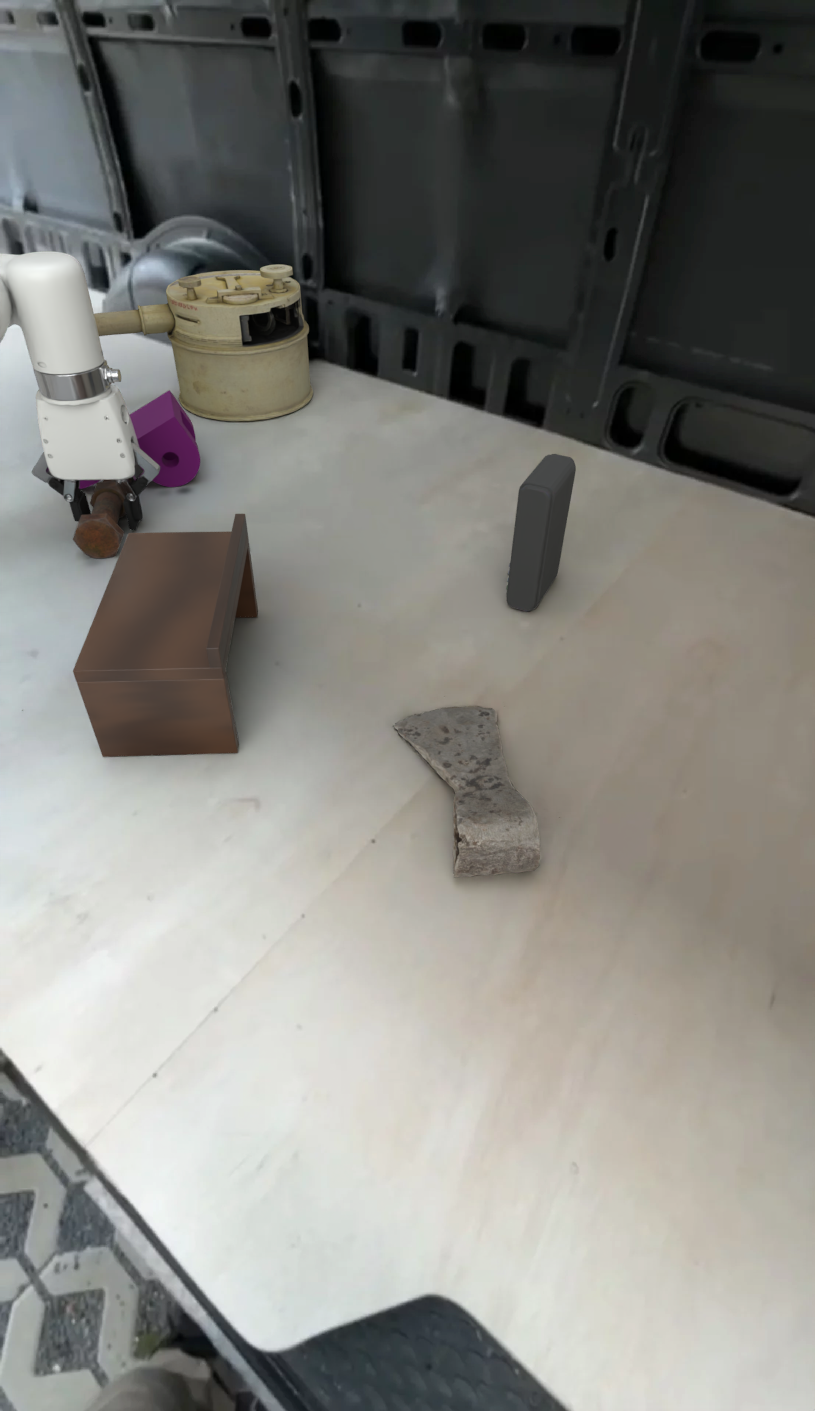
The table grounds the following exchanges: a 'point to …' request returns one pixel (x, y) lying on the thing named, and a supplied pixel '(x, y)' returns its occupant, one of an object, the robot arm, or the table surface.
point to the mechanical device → (230, 341)
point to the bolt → (102, 522)
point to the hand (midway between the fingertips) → (110, 524)
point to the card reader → (539, 531)
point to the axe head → (477, 790)
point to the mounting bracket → (165, 441)
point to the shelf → (167, 644)
